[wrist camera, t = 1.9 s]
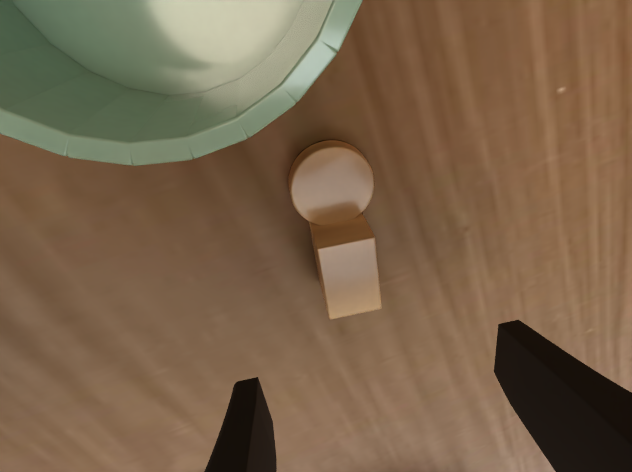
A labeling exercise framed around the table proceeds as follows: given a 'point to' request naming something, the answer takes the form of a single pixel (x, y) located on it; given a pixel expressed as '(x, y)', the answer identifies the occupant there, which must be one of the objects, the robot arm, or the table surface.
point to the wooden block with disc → (338, 224)
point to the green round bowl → (158, 72)
